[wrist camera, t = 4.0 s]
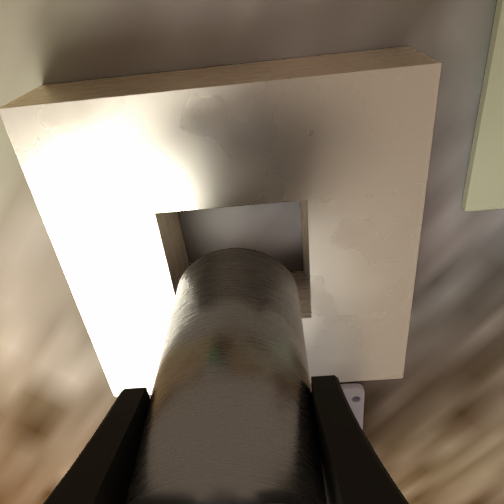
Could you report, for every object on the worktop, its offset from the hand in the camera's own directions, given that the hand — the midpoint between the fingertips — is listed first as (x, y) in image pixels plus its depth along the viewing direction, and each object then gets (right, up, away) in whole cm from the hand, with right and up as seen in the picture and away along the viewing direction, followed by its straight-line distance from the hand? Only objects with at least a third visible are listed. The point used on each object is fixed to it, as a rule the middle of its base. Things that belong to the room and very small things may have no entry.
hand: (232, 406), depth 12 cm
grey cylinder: (0, +3, +4) cm, 5 cm away
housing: (0, +5, +8) cm, 10 cm away
